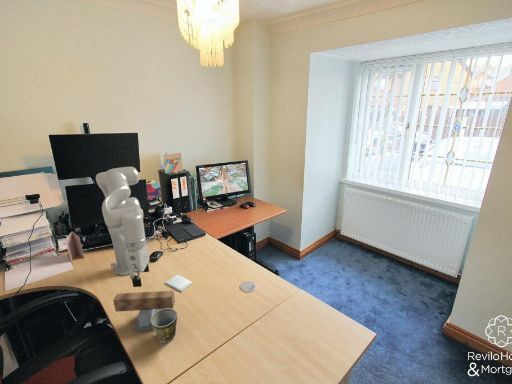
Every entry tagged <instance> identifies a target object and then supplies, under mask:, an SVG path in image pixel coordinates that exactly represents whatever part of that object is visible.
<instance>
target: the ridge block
mask: <svg viewBox="0 0 512 384" xmlns="http://www.w3.org/2000/svg"><path fill="white" fill-rule="evenodd" d="M159 310H161V309H153V310H138V311H139V312H138V314H137V319H138V320H137V321H136V323H135V326H134V328H133V331H134V332H144V331H146V332H147V331H155V330H154V328H153V326H152V323H151V318H152V316H153V315H154V314H155V313H156V312H157V311H159Z"/></svg>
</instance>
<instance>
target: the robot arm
mask: <svg viewBox="0 0 512 384" xmlns="http://www.w3.org/2000/svg"><path fill="white" fill-rule="evenodd" d="M139 181H140V174H139V171H138V170H137V169H136V168H135V167H134V166H124V167H123V166H122V167H116V168H115V167H114V168H111V169H108V170H107V171H103V172H98V173H97V174H96V175H95V182H96V184H97V185H98V187H99V188H100V189H101V191H102V193H103V195H104V197H105V198H104V200H103V202H102V206H101V212H102V216H103V219H104V223H105V226H106V227H107V230H108V232H109V235H110V238H111V241H112V245H113V250H114V256H115V262H110V269H114V272H115V274H116V276H129V277H130V279H131V282H132V288H141V287H142V285H143V283H142V278H141V273H149V272H150V267H149V261H150V254H149V249H148V245H147V240H146V233H145V231H146V230H145V225H144V211H143V209H142V208H141V204H140V201H139V199H138V198H137V197H133V196H132V197H130V196H131V192H132V190H131V188H130V186H134V185H136V184H138V183H139ZM136 274H137V275H136Z"/></svg>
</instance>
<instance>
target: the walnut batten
mask: <svg viewBox="0 0 512 384" xmlns="http://www.w3.org/2000/svg"><path fill="white" fill-rule="evenodd" d="M112 301H113V305H114V310H115V312H131V311H132V312H134V311H140V310H153V309H165V308H171V309H174V306H175V304H176V299H175V291H174V290H161V291H142V292H127V293H126V292H125V293H124V292H123V293H121V292H120V293H117V294H116V295H115V297H114V298H113V300H112Z"/></svg>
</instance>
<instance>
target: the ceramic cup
mask: <svg viewBox="0 0 512 384" xmlns="http://www.w3.org/2000/svg"><path fill="white" fill-rule="evenodd" d="M177 322H178V313H177V311H176V310H175V309H174V308H165V309H161V310H159V311H157V312H156V313H155V314H154V315H153V316H152V318H151V323H152V326H153V328H154V330H153V331H154V332H155V335H156V336H157V339H158V341H159V342H160V343H163V344H167V343H170V342H172V341H173V340H174V338H175V336H176V333H177V332H176V330H177Z"/></svg>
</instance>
